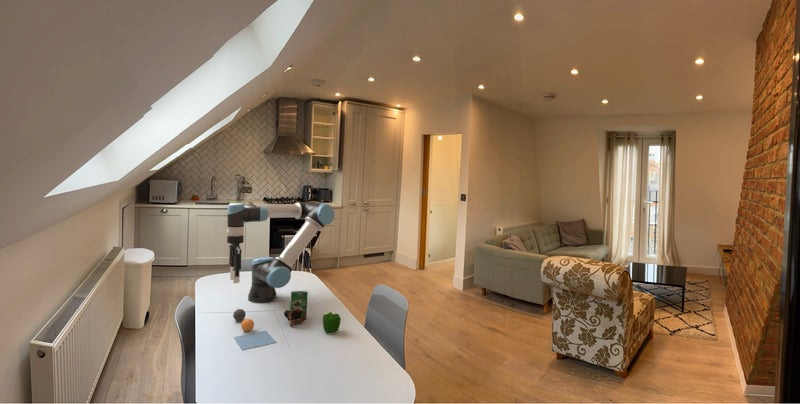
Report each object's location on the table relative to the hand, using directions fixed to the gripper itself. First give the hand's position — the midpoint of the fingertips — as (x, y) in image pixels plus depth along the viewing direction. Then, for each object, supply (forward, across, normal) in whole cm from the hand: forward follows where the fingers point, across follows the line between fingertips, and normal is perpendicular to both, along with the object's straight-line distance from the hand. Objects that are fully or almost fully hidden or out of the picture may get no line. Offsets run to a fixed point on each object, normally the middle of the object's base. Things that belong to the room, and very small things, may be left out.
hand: (234, 281), depth 198 cm
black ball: (+14, +10, 0) cm, 17 cm away
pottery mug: (+17, +25, +22) cm, 37 cm away
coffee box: (+17, +18, +26) cm, 36 cm away
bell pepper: (+17, +42, +32) cm, 56 cm away
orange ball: (+14, +24, 0) cm, 27 cm away
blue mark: (+17, +34, 0) cm, 38 cm away
